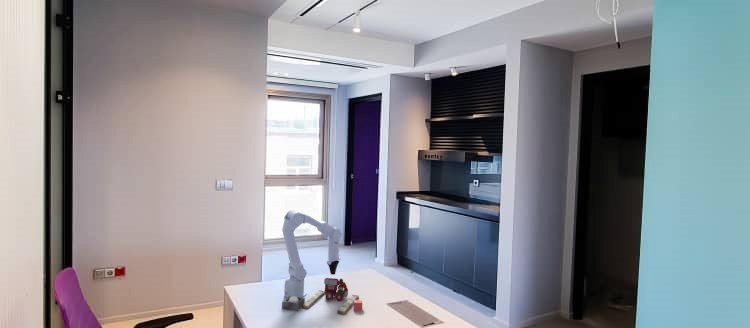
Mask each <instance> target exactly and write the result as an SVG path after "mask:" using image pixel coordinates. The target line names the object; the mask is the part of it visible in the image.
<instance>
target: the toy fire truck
mask: <svg viewBox="0 0 750 328" xmlns="http://www.w3.org/2000/svg"><path fill="white" fill-rule="evenodd" d="M323 283H324V291H325V294H324V296H325V299H326V301H332V300H333V299H334V298H335V300H336V301H337V302H341V301H343V300H344V298H348V295H349V289H348V286H347V283H346V282H345V281H344V278H340V279H338V278H333V277H325V278H324V281H323Z"/></svg>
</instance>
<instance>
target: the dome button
mask: <svg viewBox="0 0 750 328" xmlns="http://www.w3.org/2000/svg"><path fill="white" fill-rule="evenodd" d="M298 301H299V300H298V298H297V297H296V296H292V297H290V299H289V301H288V302H294V303H297V302H298Z"/></svg>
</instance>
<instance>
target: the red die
mask: <svg viewBox="0 0 750 328" xmlns="http://www.w3.org/2000/svg"><path fill="white" fill-rule="evenodd" d="M352 306H353V312H363V299H357V300H354V304H353V305H352Z"/></svg>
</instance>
